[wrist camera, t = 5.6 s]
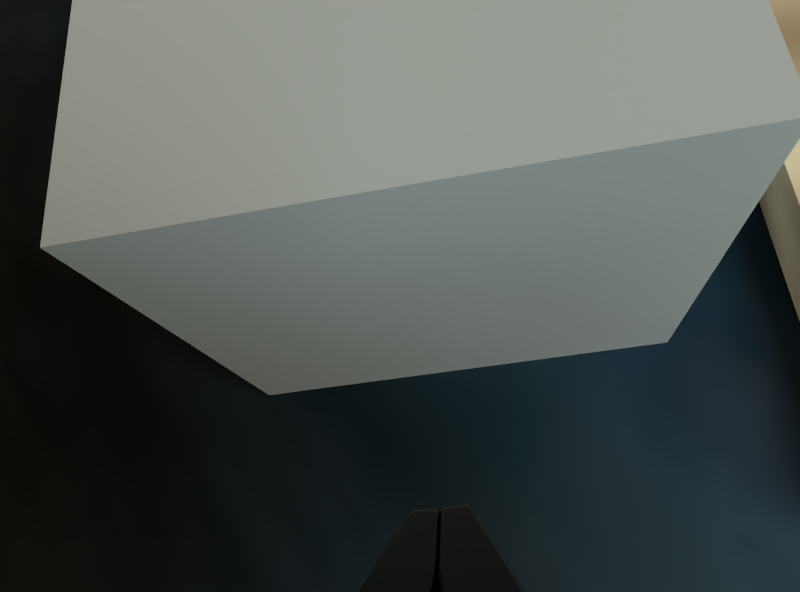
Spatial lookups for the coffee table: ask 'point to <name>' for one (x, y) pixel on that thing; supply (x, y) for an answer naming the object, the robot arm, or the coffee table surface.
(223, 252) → the block
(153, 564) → the coffee table surface
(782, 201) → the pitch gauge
